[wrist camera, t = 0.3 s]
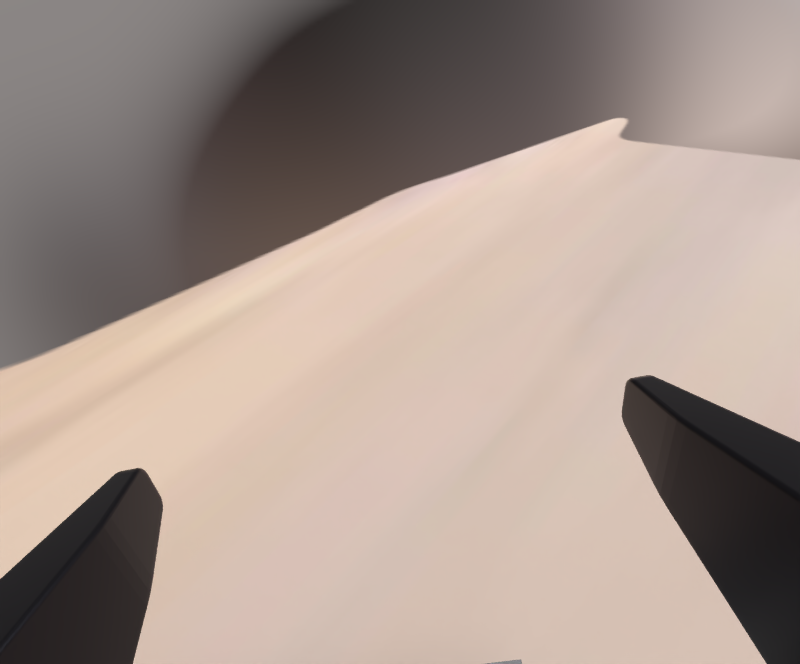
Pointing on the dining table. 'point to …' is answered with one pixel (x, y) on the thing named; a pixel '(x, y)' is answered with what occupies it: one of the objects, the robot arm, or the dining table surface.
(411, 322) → the dining table surface
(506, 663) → the can holder
